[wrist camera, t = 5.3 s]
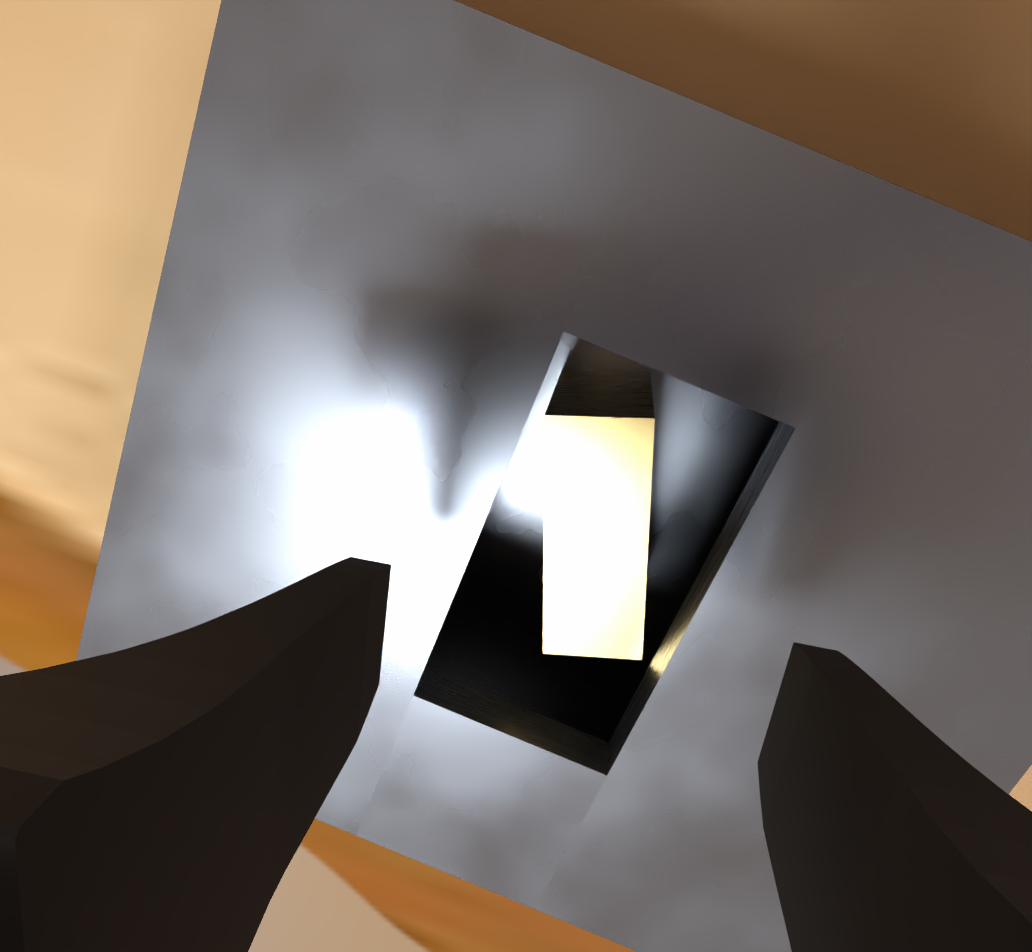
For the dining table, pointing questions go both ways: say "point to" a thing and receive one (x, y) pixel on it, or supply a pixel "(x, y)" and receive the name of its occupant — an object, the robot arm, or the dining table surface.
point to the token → (597, 513)
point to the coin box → (520, 443)
